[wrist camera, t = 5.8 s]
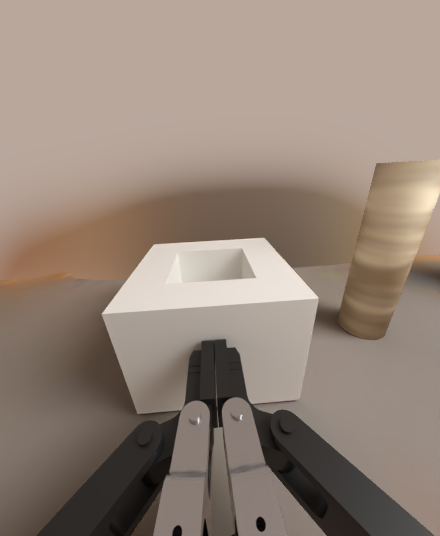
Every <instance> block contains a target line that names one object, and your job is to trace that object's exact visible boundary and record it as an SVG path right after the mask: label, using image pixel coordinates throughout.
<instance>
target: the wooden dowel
mask: <svg viewBox="0 0 440 536" xmlns="http://www.w3.org/2000/svg"><path fill="white" fill-rule="evenodd" d="M439 194H440V160H430V161H429V160H427V161H409V162H392V163H377V164H376V167H375V171H374V176H373V180H372V183H371V187H370V191H369V195H368V200H367V203H366V207H365V211H364V215H363V219H362V223H361V227H360V232H359V235H358V239H357V243H356V247H355V251H354V255H353V260H352V263H351V267H350V271H349V275H348V279H347V283H346V287H345V291H344V295H343V299H342V303H341V307H340V312H339V316H338V323H339V325H340V326H341V327H342V328H343V329H344V330H345V331H347V332H348V333H350V334H352V335H354V336H357V337H360V338H363V339H369V340H377V339H381V338H383V337H384V336H385V333H386V331H387V328H388V326H389V323H390V320H391V318H392V315H393V313H394V310H395V308H396V305H397V302H398V300H399V297H400V295H401V292H402V290H403V287H404V284H405V282H406V279H407V277H408V274H409V271H410V269H411V266H412V264H413V261H414V259H415V256H416V253H417V251H418V248H419V246H420V243H421V241H422V238H423V235H424V233H425V230H426V228H427V225H428V222H429V220H430V217H431V215H432V212H433V210H434V207H435V204H436V202H437V199H438V196H439Z"/></svg>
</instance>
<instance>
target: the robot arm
mask: <svg viewBox="0 0 440 536" xmlns="http://www.w3.org/2000/svg"><path fill="white" fill-rule="evenodd" d="M214 344H215V355H214ZM215 368H216V373H215ZM216 392H217V397H216ZM217 407H218V420H219V427H223V439H224V450H225V459H226V467H227V475H228V483H229V491H230V499H231V509H232V518H233V527H234V534H233V535H232V536H288V535H287V531H286V527H285V523H284V520H283V516H282V512H281V509H280V505H279V501H278V497H277V494H276V490H275V486H274V483H273V479H272V475H271V472H270V469H271V470H272V472H273V473H274V474H275V475H276V476H277V477H278V479H279V480H280V481H281V482H282V483H283V485H284V486H285V487H286V488H287V489H288V490H289V492H290V493H291V494H292V495H293V496H294V497H295V499H296V500H297V501H298V502H299V503H300V505H301V506H302V507H303V508H304V509H305V510H306V512H307V513H308V514H309V515H310V516H311V518H312V519H313V520H314V521H315V522H316V523H317V525H318V526H319V527H320V528H321V529H322V530H323V532H324V533H325V534H326V535H327V536H434V535H433V534H432V533H431V532H430V531H429V530H427V529H426V528H425V527H424V526H423V525H422V524H421V523H419V522H418V521H417V520H416V519H415V518H414V517H412V516H411V515H410V514H409V513H408V512H407V511H406V510H404V509H403V508H402V507H401V506H400V505H399V504H397V503H396V502H395V501H394V500H393V499H392V498H391V497H389V496H388V495H387V494H386V493H385V492H384V491H382V490H381V489H380V488H379V487H378V486H377V485H376V484H374V483H373V482H372V481H371V480H370V479H369V478H367V477H366V476H365V475H364V474H363V473H362V472H361V471H359V470H358V469H357V468H356V467H355V466H354V465H352V464H351V463H350V462H349V461H348V460H347V459H346V458H344V457H343V456H342V455H341V454H340V453H339V452H337V451H336V450H335V449H334V448H333V447H332V446H331V445H329V444H328V443H327V442H326V441H325V440H324V439H322V438H321V437H320V436H319V435H318V434H317V433H316V432H314V431H313V430H312V429H311V428H310V427H309V426H307V425H306V424H305V423H304V422H303V421H302V420H301V419H299V418H298V417H297V416H296V415H295V414H293V413H292V412H290V411H287V410H279V411H276V412H275V413H274V414H270V413H267V412H263V411H260V410H258V409H256V408H255V407H254V406H253V405H252V404H251V403H250V401H249V399H248V396H247V391H246V385H245V380H244V374H243V369H242V364H241V358H240V354H239V352H238V351H237V349H236V348H235V347H232V348H227V344H226V339H218V340H214V341H213V340H205V341H202V343H201V350H194V351H193V352H192V354H191V356H190V357H189V365H188V375H187V385H186V395H185V403H184V406H183V408H182V410H181V411H180V413H179V414H178V415H177V416H175V417H174V418H173V419H171V420H169V421H166V422H164V423H162V424H160V425H159V424H158V423H157V422H155V421H146V422H143V423H141V424H140V425H139V426H137V427H136V428H135V429H134V431H133V432H132V433H131V434H130V435H129V436H128V437H127V438H126V439H125V440H124V441H123V442H122V444H121V445H120V446H119V447H118V448H117V449H116V450H115V451H114V452H113V453H112V454H111V456H110V457H109V458H108V459H107V460H106V461H105V462H104V463H103V464H102V465H101V466H100V467H99V469H98V470H97V471H96V472H95V473H94V474H93V475H92V476H91V477H90V478H89V479H88V480H87V482H86V483H85V484H84V485H83V486H82V487H81V488H80V489H79V490H78V491H77V492H76V493H75V495H74V496H73V497H72V498H71V499H70V500H69V501H68V502H67V503H66V504H65V505H64V506H63V508H62V509H61V510H60V511H59V512H58V513H57V514H56V515H55V516H54V517H53V518H52V519H51V521H50V522H49V523H48V524H47V525H46V526H45V527H44V528H43V529H42V530H41V531H40V533H39V534H38V535H37V536H130V535H131V534H132V532H133V531H134V529H135V528H136V526H137V525H138V523H139V522H140V520H141V519H142V517H143V516H144V515H145V513H146V512H147V510H148V509H149V507H150V506H151V504H152V503H153V501H154V500H155V498H156V497H157V495H158V494H159V492H160V491H161V489H162V493H161V498H160V503H159V509H158V514H157V519H156V524H155V529H154V534H153V536H211V491H212V466H213V445H214V428H218V422H217ZM269 467H270V469H269Z"/></svg>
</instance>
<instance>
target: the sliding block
mask: <svg viewBox="0 0 440 536" xmlns="http://www.w3.org/2000/svg"><path fill="white" fill-rule="evenodd" d="M318 301H319V298H318V297H317V296H316V295H315V294H314V292H313V291H312V290H311V289H310V288H309V287H308V286H307V285H306V284H305V283H304V281H303V280H302V279H301V278H300V277H299V276H298V275H297V274H296V273H295V271H294V270H293V269H292V268H291V267H290V266H289V265H288V264H287V263H286V261H285V260H284V259H283V258H282V257H281V256H280V255H279V254H278V253H277V252H276V250H275V249H274V248H273V247H272V246H271V245H270V244H269V243H268V242H267V240H266V239H265V238H253V239H237V240H220V241H204V242H188V243H171V244H155V245H153V246H152V248H151V249H150V251H149V252H148V253H147V254H146V256H145V257H144V258H143V260H142V261H141V262H140V264H139V265H138V266H137V268H136V269H135V271H134V272H133V273H132V275H131V276H130V277H129V279H128V280H127V281H126V282H125V284H124V285H123V286H122V288H121V289H120V290H119V292H118V293H117V294H116V296H115V297H114V298H113V300H112V301H111V302H110V304H109V305H108V306H107V308H106V309H105V310H104V312H103V313H102V316H103V319H104V322H105V325H106V328H107V330H108V333H109V336H110V339H111V342H112V344H113V347H114V350H115V353H116V355H117V358H118V361H119V364H120V367H121V369H122V372H123V375H124V378H125V381H126V383H127V386H128V389H129V392H130V395H131V397H132V400H133V403H134V406H135V408H136V411H137V414H145V413H156V412H167V411H178V410H182V408H183V406H184V403H185V395H186V385H187V375H188V365H189V357H190V356H191V354H192V352H193V351H194V350H201V343H202V341H205V340H213V341H214V340H218V339H226V344H227V348H232V347H235V348H236V349H237V351H238V352H239V354H240V358H241V364H242V369H243V374H244V380H245V385H246V391H247V396H248V399H249V401H250V403H251V404H256V403H268V402H279V401H290V400H300V395H301V389H302V384H303V379H304V374H305V369H306V363H307V358H308V353H309V348H310V342H311V337H312V332H313V327H314V321H315V316H316V311H317V306H318ZM214 355H215V344H214ZM215 373H216V368H215ZM216 397H217V392H216Z"/></svg>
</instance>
